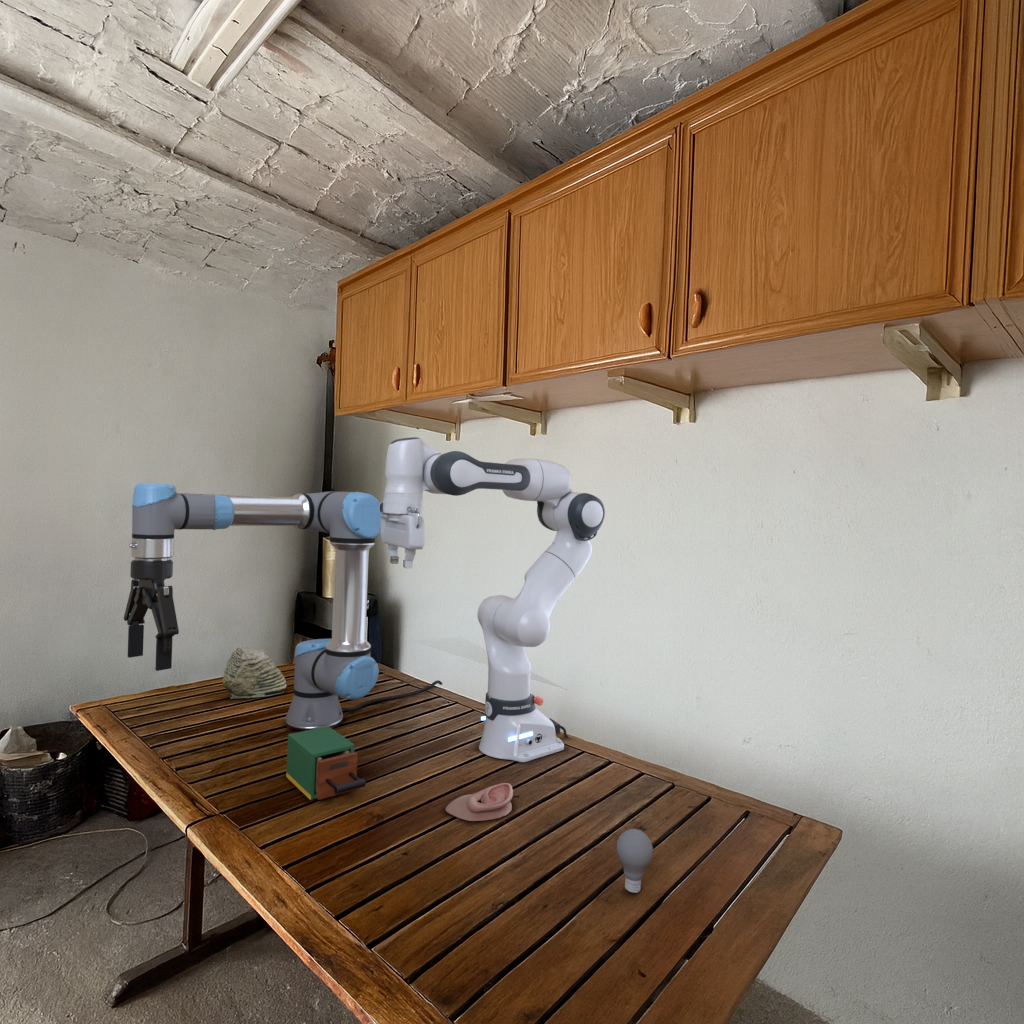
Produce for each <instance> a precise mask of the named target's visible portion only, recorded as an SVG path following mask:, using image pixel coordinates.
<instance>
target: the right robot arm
mask: <svg viewBox="0 0 1024 1024" xmlns="http://www.w3.org/2000/svg"><path fill="white" fill-rule="evenodd" d="M384 477H385V483H386V485H385V488H384V492H383V493H384V494H383V499H382V500H381V502H380V504H379V512H380V513H382V514H381V518H380V541H381V542H382V543H383V544H387V551H388V555H389V563H390V564H393V565H397V564H399V559H400V557H399V554H398V549H399V548H402V549H404V559H403V560H402V568H404V569H412V568H414V567H413V566H414V560H415V556H416V552H417V550H423V548H424V546H425V521H424V517H423V516H421V515H422V514H423V496H424V495H423V493H424V492H427V493H430V494H434V495H449V496H454V497H455V496H457V497H459V496H463V495H466V494H468V493H470V492H472V491H475V490H481V489H482V490H500V491H502V493H503V494H504V495H505V496H506V497H507V498H510V499H514V500H518V501H524V502H525V501H526V502H536V504H537V507H536V515H537V519H538V522H539V523H540V524H541V526H543V527H544V528H546V529H548V530H550V531H553V532H556V534H555V537H554V539H553V540H552V542H551V544H550V545H549V546H548V547H547V548H546V549H545V550H544V551H543V553H541V554H540V555H539V557H538V558H537V559H536V560H535V561H534V563H533V564H532V565H531V566H530V567H529V568H528V569H527V571H525V574H524V579H523V580H524V583H523V585H522V588H521V589H520V592H519V593H518V594H517V595H516V596H515V597H512V596H508V595H505V594H497V595H490V596H487V597H486V598H484V599H483V600H482V601H481V602H480V604H479V606H478V608H477V613H476V614H477V620H478V623H479V625H480V627H481V629H482V633H483V639H484V643H485V649H486V655H487V667H488V668H487V669H488V671H487V692H486V693H485V702H484V704H485V705H484V716H480V720H481V721H484V725H483V726H484V727H483V731H482V734H481V738H480V741H479V744H478V749H479V751H480V752H481V753H482V754H484V755H486V756H489V757H491V758H493V759H494V758H495V759H500V760H509V761H510V760H511V761H515V762H519V763H527V762H530V761H533V760H536V759H539V758H543V757H546V756H549V755H552V754H556V753H559V752H562V751H564V750H565V743H564V742H563V740H562V739H561V738H560V737H558V736H557V735H560V734H561V730H562V732H563V736H564V738H565V739H568V738H569V735H568V734H567V730H566V727H564V726H562V725H561V724H560V723H558V722H557V721H555V719H552V718H551V717H550V718H549V717H547V715H545V714H544V713H542V711H541V710H539V709H538V708H537V707H536V705H537V706H539V707H540V706H542V705H543V704H544V699H543V698H542V697H541V696H538V695H536V696H535V695H534V694H533V693H531V683H532V682H531V679H532V665H531V661H530V659H529V657H528V655H527V651H526V649H525V648H535V647H536V648H537V647H539V646H540V645H542V644H543V643H545V641H546V640H547V638H548V636H549V634H550V630H551V623H550V618H551V615H552V612H553V610H554V608H555V606H556V604H557V602H558V601H559V599H561V597H562V596H563V595H564V593H565V592H566V591H567V590H568V588H569V587H570V586H571V585H572V584H573V582H574V581H575V580H576V579H577V578H578V576H580V575H579V574H581V572H582V571H583V570H584V568H585V566H586V565H587V563H588V561H589V559H590V557H591V556H592V553H593V546H592V543H591V542H590V541H591V540H593V539H594V538H596V536H597V534H598V531H599V530H600V529H601V527H602V525H603V523H604V520H605V516H606V510H605V509H606V508H605V505H604V502H603V501H602V500H601V499H600V498H599V497H597V495H596V496H595V495H594V494H591V493H588V492H575V491H573V490H572V488H571V487H572V475H571V473H570V471H569V469H568V468H567V466H565V465H563V464H560V463H557V462H554V461H551V460H547V459H541V458H540V459H539V458H531V457H530V458H526V457H525V458H524V457H523V458H514V459H513V458H512V459H509V460H507V461H506V462H505V463H502V462H501V463H499V462H492V461H491V462H490V461H481V460H478V459H477V458H474V457H473V456H471V455H470V454H467V453H466V452H463V451H460V450H452V451H448V452H445V453H442V452H440V451H437V450H436V449H434V448H433V447H431V446H429V445H428V444H427V443H426V442H424V441H423V439H422V438H421V437H417V436H413V437H403V438H397V439H393V440H392V441H391V442H390V443H389V445H388V447H387V451H386V458H385V471H384Z"/></svg>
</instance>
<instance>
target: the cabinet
mask: <svg viewBox="0 0 1024 1024" xmlns="http://www.w3.org/2000/svg"><path fill="white" fill-rule="evenodd" d="M355 745H356V744H354V743H353V742H352V741H350V740H349V739H348V738H346V737H345V736H343V735H342V734H341V733H339V732H338V731H336V730H335V729H334V728H333V729H332V728H330V727H329V726H326V727H321V728H317V729H312V730H307V731H302V732H301V731H296V732H293V733H289V734H287V746H286V747H287V748H286V749H287V751H286V772H285V776H286V778H287V780H289V781H290V782H291V783H292V784H293V785H294V786H295V787H296V788H297V789H298V790H299V791H300V792H302V794H303V795H305V796H306V798H307V799H309V801H312V800H315V799H317V798H316V797H317V792H316V791H314V787H315V762H316V757H319V756H323V755H328V754H332V753H336V752H340V751H344V750H348V751H349V753H352V752H355V749H356V748H355Z"/></svg>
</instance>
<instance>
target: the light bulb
mask: <svg viewBox="0 0 1024 1024" xmlns="http://www.w3.org/2000/svg"><path fill="white" fill-rule="evenodd" d="M615 849H616V854H617V857H618V859H619V861H620V863H621V865H622V867H623V873H624V874H623V875H624V876H625V878H624V888H625V890H627V891H628V892H630V893H634V894H635V893H639V892H640V891H641V889H642V887H641V886H642V879H643V877H644V875H645V871H646V868H647V867H648V866H649V864H650V863H651V861H652V859H653V855H654V847H653V843H652V841H651V838H649V836H648V835H647V834H646V833H645V832H643V831H642V830H641V829H636V828H629V829H627V830H625V831H623V832H622V833H621V834H620V835H619V837H618V839H617V841H616V847H615Z"/></svg>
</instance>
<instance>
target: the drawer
mask: <svg viewBox="0 0 1024 1024" xmlns="http://www.w3.org/2000/svg"><path fill="white" fill-rule="evenodd" d="M358 754H359V753H357V752H356V751H354V752H352V753H349V751H348V750H344V751H340V752H336V753H332V754H328V755H323V756H319V757H316V762H315V787H314V791H316V792H317V797H316V799H317V800H318V801H321V800H324V799H327V798H331V797H335V796H338V795H341V794H344V793H348V792H352V791H355V790H357V789H361V788H364V787H366V786H367V785H366V779H365V778H359V777H358V756H359V755H358Z"/></svg>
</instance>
